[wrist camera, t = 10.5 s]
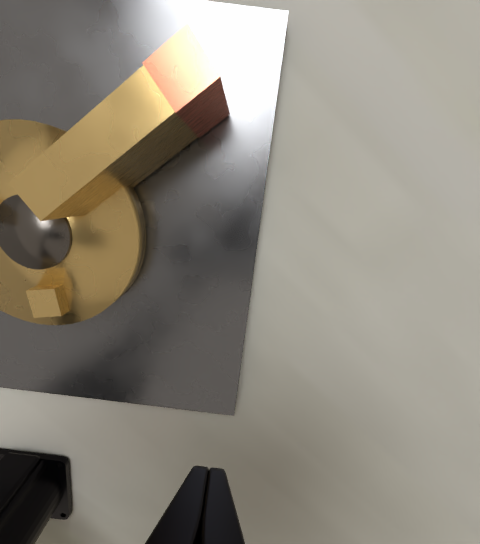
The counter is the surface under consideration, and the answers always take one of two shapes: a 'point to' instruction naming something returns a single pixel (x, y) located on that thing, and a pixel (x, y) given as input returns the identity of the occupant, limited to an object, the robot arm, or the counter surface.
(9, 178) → the brass lever handle
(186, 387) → the base plate
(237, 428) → the counter surface
